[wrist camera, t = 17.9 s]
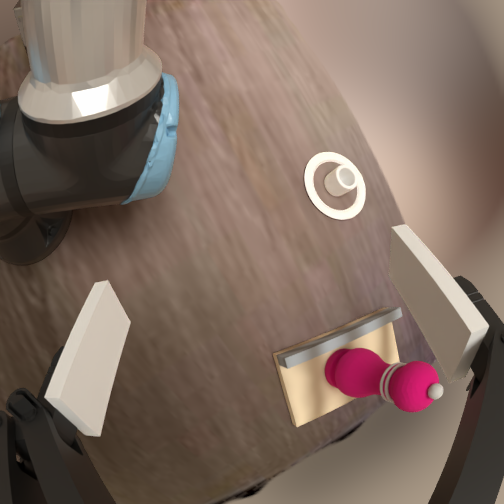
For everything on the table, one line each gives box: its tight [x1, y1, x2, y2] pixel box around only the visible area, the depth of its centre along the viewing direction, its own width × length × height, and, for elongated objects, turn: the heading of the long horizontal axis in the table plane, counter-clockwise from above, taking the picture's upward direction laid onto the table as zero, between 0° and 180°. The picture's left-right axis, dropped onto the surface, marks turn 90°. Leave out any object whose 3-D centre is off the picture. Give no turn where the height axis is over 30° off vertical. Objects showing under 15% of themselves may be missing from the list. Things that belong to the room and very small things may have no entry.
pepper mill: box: [325, 348, 443, 412], centre depth 36 cm, size 7×7×20 cm
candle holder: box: [304, 152, 366, 220], centre depth 50 cm, size 12×12×4 cm
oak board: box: [273, 307, 402, 427], centre depth 45 cm, size 21×12×4 cm, turn 107°
